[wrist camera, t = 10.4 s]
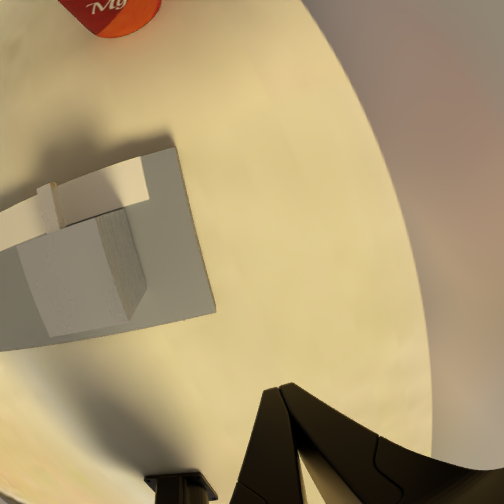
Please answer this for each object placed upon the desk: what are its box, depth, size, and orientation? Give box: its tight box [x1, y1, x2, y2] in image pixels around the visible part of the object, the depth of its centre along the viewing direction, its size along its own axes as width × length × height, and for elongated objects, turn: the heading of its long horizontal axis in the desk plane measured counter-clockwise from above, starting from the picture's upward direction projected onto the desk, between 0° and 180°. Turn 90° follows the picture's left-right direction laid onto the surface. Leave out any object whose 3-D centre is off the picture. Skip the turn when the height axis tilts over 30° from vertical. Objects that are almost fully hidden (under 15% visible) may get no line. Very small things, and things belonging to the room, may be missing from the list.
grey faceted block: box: [16, 183, 147, 337], centre depth 13 cm, size 7×5×4 cm, turn 12°
